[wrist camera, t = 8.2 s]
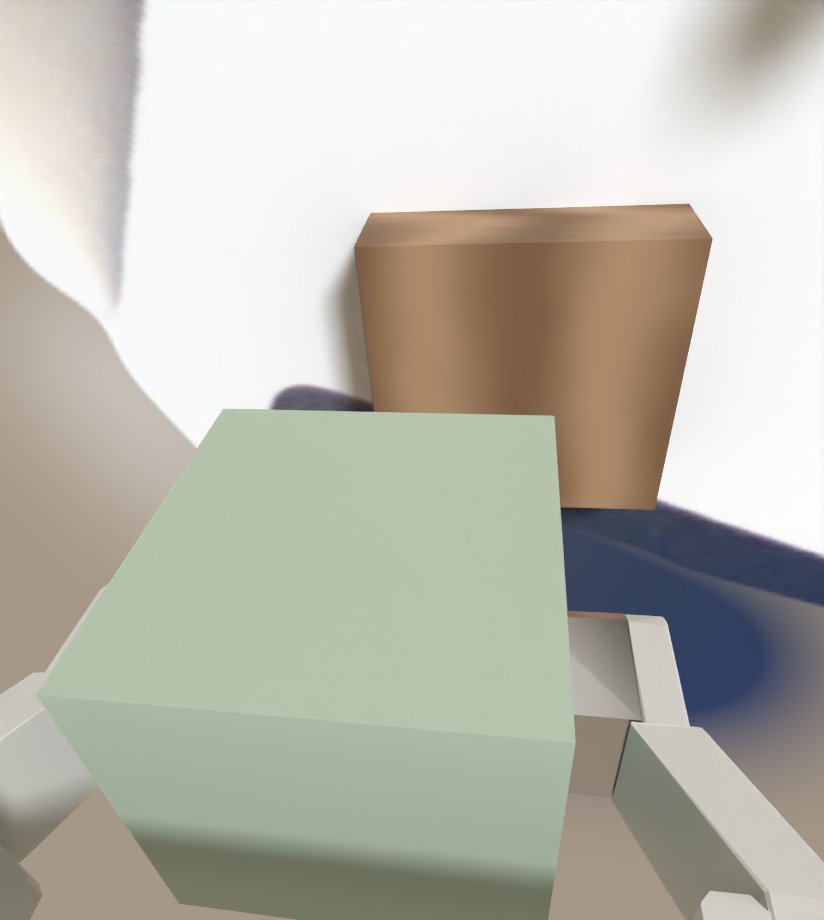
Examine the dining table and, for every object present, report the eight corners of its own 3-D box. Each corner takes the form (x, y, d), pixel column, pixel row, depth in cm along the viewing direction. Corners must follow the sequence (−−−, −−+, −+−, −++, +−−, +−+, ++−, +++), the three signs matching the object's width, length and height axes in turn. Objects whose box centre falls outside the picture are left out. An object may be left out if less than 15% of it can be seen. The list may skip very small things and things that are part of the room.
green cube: (281, 620, 13) (179, 903, 9) (223, 408, 10) (35, 695, 6) (536, 637, 13) (542, 952, 9) (553, 415, 10) (574, 743, 6)
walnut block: (396, 449, 34) (384, 502, 31) (372, 210, 26) (354, 246, 23) (640, 454, 32) (654, 509, 29) (686, 200, 25) (712, 238, 22)
